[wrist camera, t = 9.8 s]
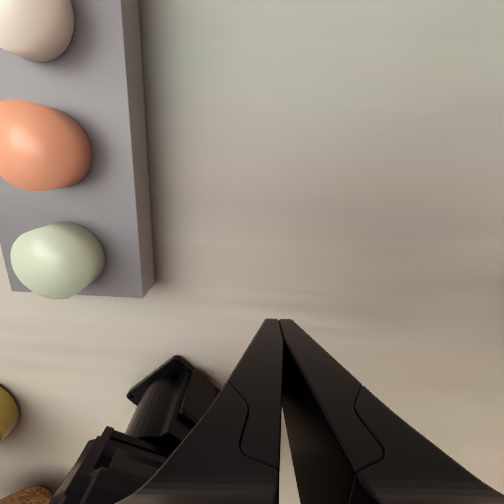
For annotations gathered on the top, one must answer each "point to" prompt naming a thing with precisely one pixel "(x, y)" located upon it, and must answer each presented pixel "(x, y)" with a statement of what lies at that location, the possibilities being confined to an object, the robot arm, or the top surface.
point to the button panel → (91, 145)
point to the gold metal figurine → (7, 413)
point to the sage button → (57, 259)
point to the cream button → (36, 28)
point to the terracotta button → (41, 147)
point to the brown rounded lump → (28, 496)
